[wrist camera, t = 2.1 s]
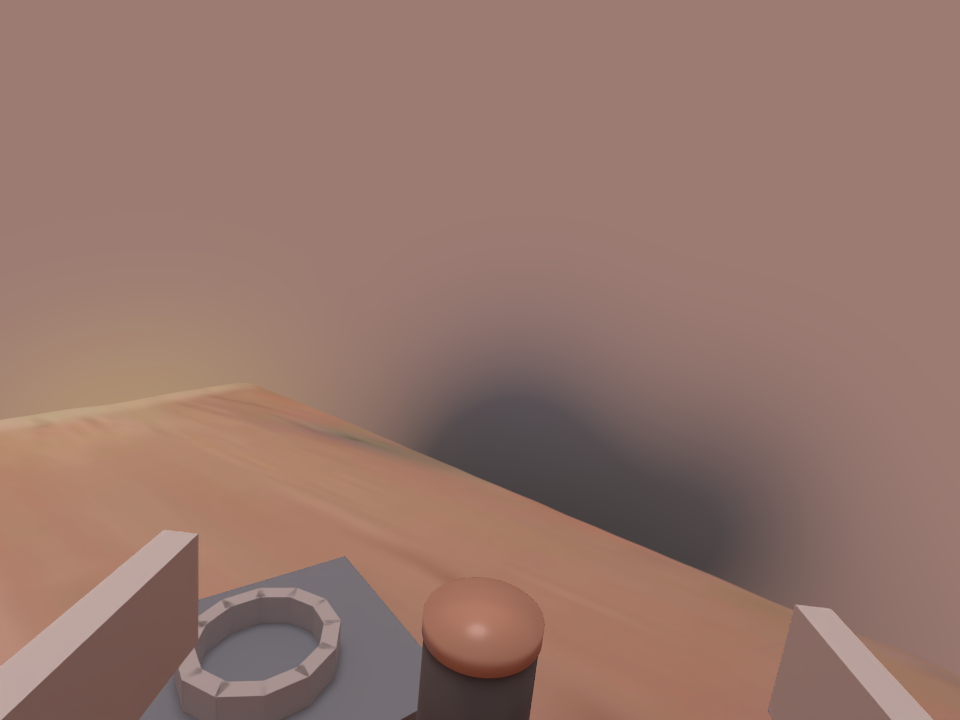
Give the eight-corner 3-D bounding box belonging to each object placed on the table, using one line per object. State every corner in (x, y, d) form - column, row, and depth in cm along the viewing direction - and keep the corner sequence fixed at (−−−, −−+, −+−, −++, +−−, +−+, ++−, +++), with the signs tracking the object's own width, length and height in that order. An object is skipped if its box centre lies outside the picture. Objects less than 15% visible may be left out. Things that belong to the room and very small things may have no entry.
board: (344, 569, 45) (346, 534, 44) (454, 706, 32) (459, 661, 32) (74, 654, 34) (70, 609, 33) (88, 910, 21) (83, 847, 21)
